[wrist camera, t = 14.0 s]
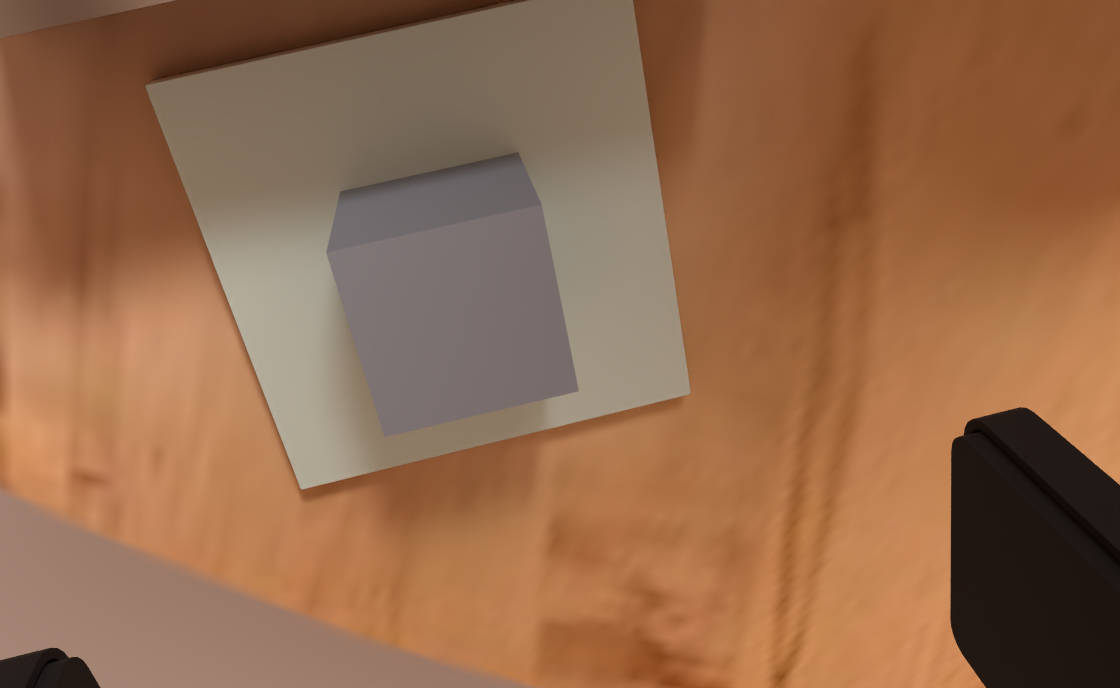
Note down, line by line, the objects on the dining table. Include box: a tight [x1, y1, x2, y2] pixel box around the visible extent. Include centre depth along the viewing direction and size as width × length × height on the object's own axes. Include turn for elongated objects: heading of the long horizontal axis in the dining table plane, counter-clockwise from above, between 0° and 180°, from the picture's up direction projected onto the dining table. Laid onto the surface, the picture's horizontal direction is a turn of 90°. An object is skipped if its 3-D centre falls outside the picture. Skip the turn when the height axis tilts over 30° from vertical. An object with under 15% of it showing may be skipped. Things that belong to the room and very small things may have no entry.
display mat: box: [145, 0, 691, 490], centre depth 30 cm, size 14×14×1 cm
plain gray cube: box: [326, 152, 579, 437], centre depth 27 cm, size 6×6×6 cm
